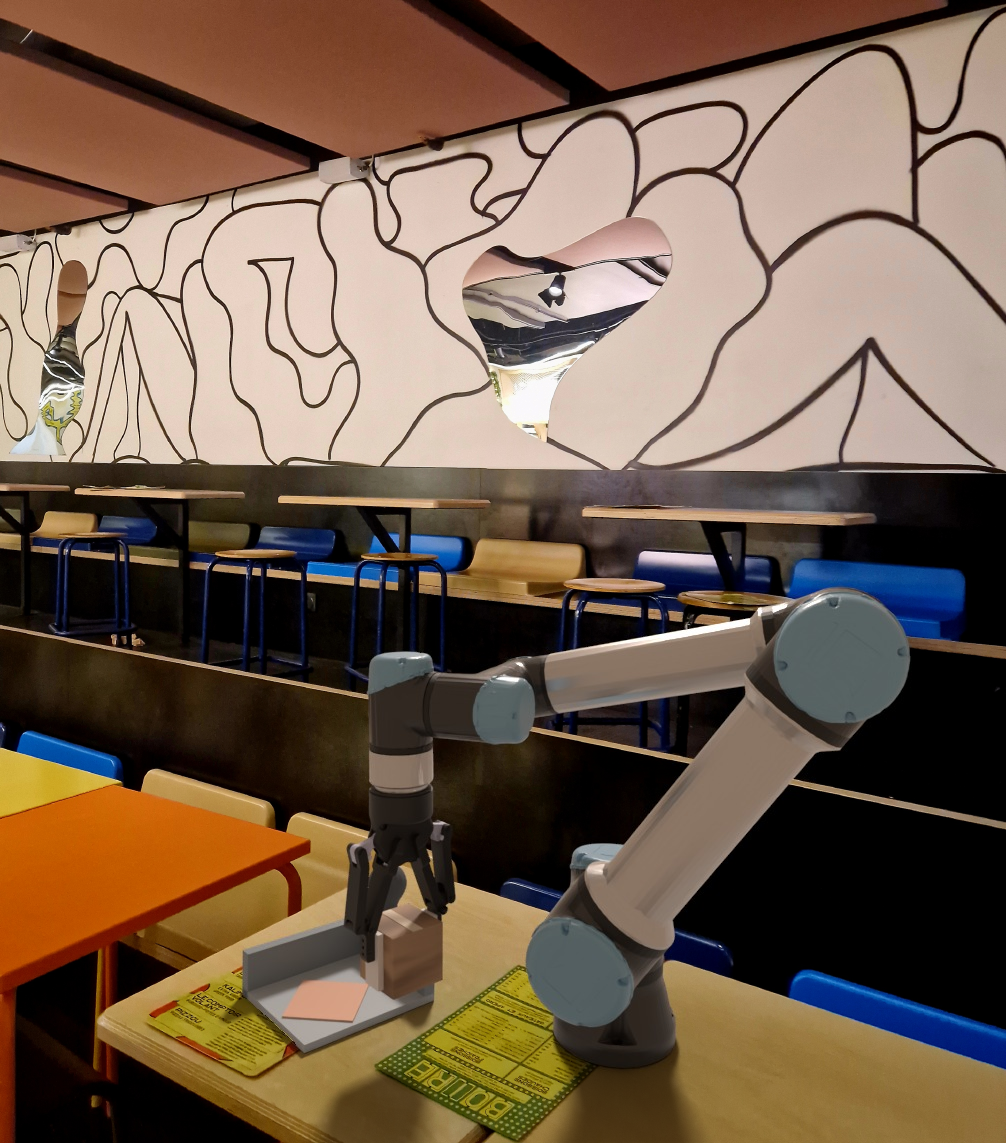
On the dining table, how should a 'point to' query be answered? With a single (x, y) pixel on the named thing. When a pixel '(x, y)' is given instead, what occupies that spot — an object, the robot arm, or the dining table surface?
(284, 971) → the tray
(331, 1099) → the dining table surface
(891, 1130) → the dining table surface
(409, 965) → the cardboard box
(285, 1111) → the dining table surface
